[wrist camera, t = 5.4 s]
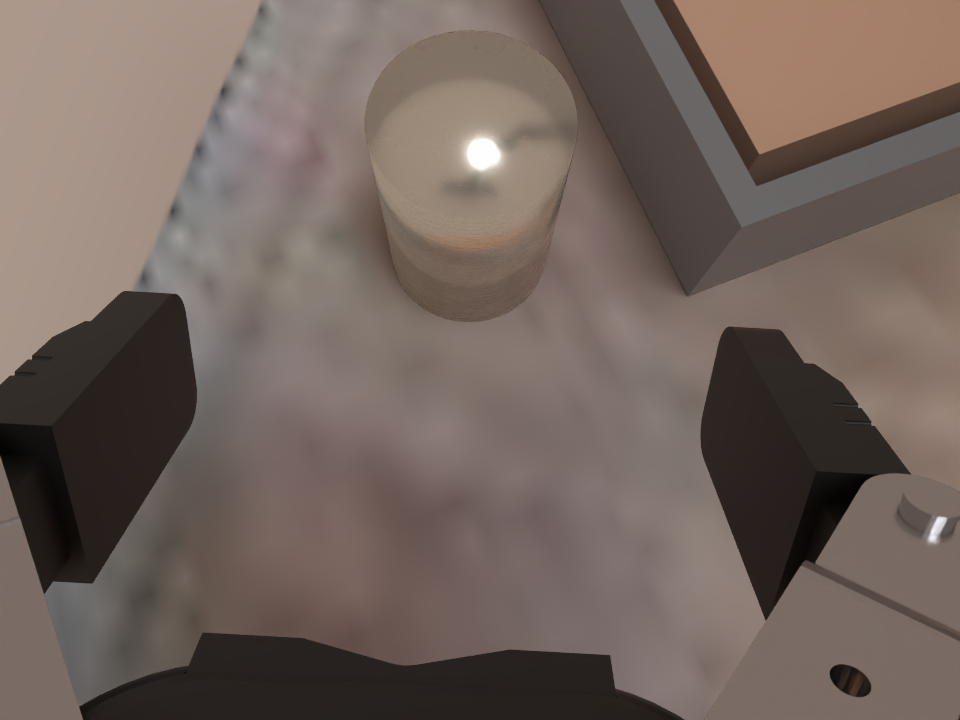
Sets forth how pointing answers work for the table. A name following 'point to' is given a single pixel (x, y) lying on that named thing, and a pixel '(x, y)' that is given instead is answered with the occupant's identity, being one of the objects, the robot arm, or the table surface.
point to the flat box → (819, 72)
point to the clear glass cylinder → (470, 168)
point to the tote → (730, 154)
